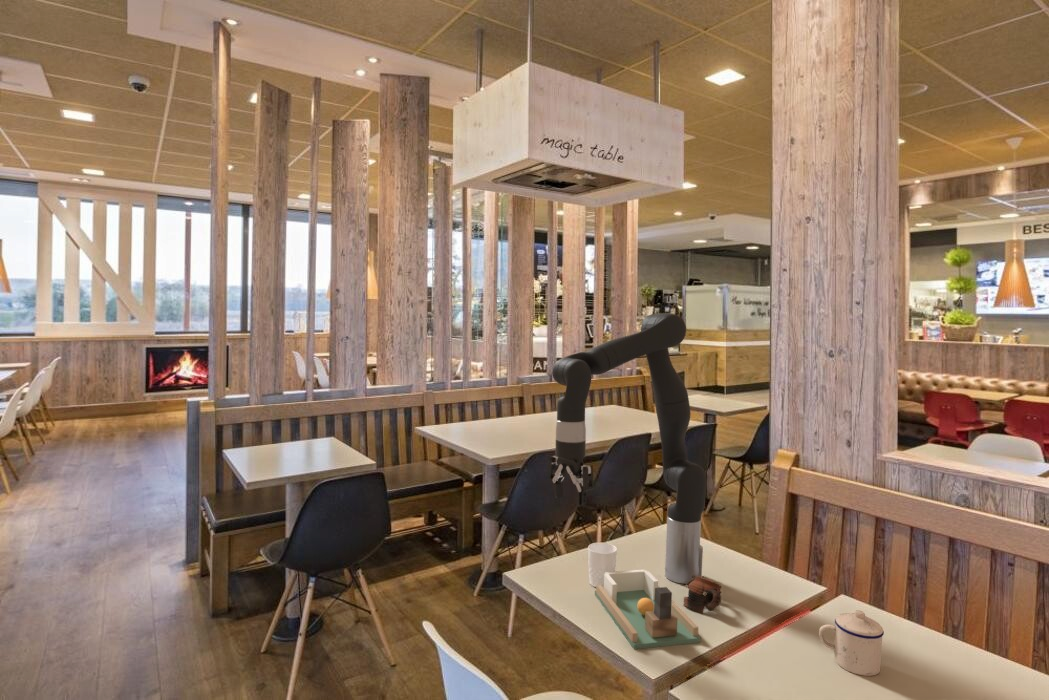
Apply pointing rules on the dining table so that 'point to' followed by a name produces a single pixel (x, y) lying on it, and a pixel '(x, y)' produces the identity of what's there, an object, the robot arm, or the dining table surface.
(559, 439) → the robot arm
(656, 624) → the striker
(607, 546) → the white cup
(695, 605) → the pottery mug
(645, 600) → the ball
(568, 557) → the dining table surface
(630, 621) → the pitch
